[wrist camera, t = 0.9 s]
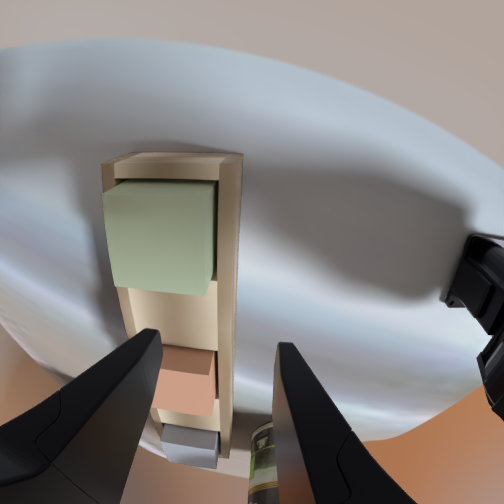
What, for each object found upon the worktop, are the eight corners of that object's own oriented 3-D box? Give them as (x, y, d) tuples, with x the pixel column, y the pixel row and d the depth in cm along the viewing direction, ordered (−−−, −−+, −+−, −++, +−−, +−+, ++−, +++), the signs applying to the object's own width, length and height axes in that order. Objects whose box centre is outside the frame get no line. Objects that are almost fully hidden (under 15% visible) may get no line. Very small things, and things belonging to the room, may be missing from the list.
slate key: (219, 415, 26) (214, 450, 22) (220, 438, 28) (216, 469, 24) (169, 408, 26) (160, 441, 22) (175, 432, 28) (168, 461, 24)
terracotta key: (217, 333, 21) (208, 375, 17) (218, 378, 23) (211, 417, 19) (151, 325, 21) (133, 363, 17) (160, 369, 23) (147, 406, 20)
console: (243, 154, 17) (236, 164, 14) (232, 429, 30) (229, 458, 27) (131, 152, 18) (101, 163, 14) (171, 421, 30) (164, 448, 27)
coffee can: (254, 455, 33) (248, 547, 21) (247, 418, 29) (236, 537, 16) (331, 451, 32) (339, 542, 20) (342, 412, 28) (358, 529, 15)
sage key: (219, 177, 16) (204, 197, 12) (217, 259, 18) (205, 296, 15) (135, 175, 16) (101, 194, 13) (140, 252, 18) (114, 285, 15)
